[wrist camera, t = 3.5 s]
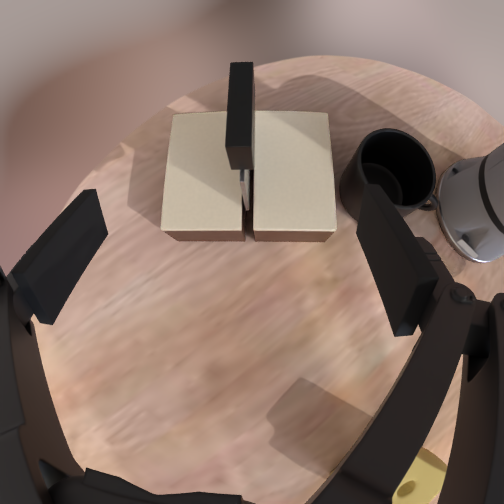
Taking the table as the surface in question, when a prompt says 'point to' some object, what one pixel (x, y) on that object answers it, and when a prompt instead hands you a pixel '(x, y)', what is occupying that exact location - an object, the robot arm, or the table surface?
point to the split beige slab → (265, 179)
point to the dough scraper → (241, 124)
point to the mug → (390, 172)
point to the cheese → (421, 480)
